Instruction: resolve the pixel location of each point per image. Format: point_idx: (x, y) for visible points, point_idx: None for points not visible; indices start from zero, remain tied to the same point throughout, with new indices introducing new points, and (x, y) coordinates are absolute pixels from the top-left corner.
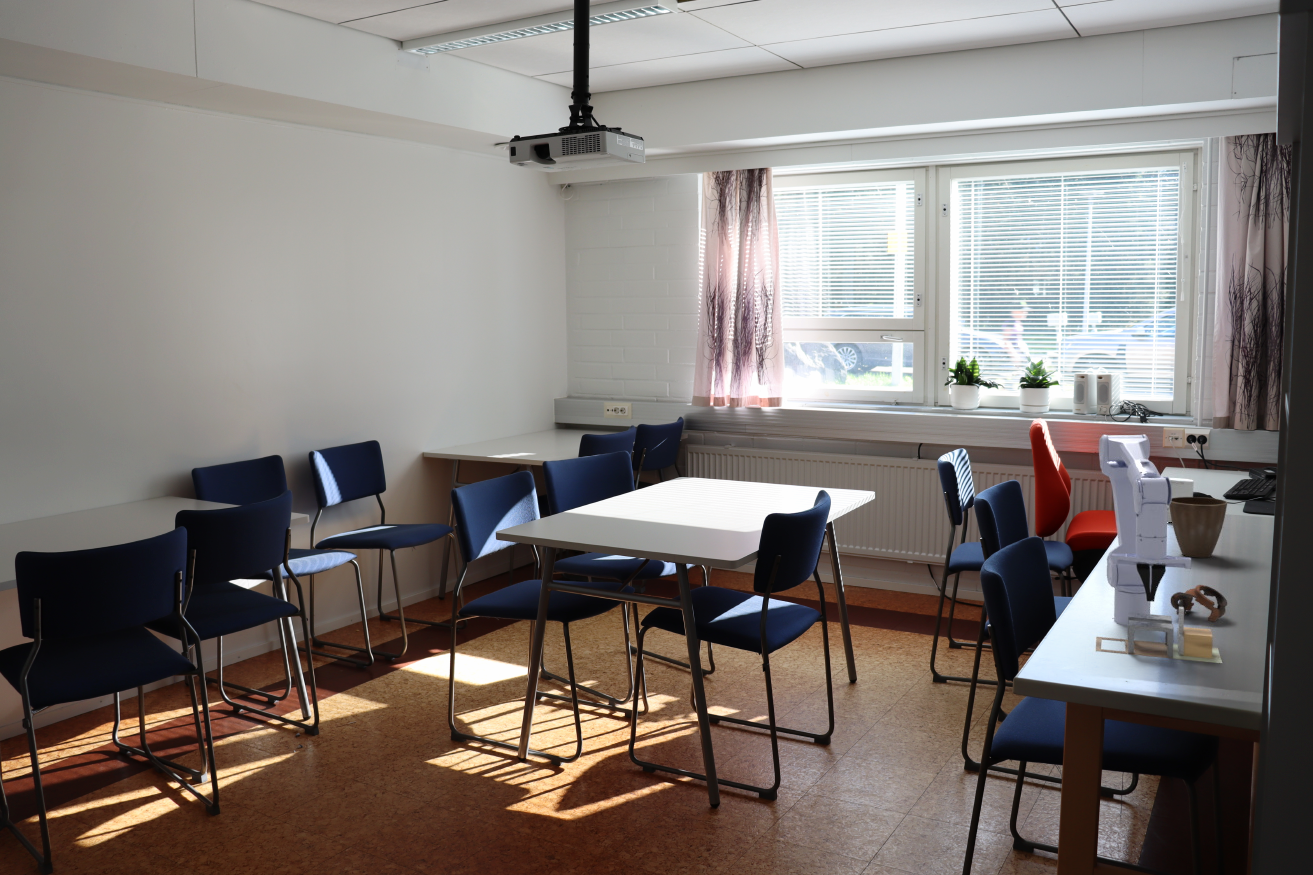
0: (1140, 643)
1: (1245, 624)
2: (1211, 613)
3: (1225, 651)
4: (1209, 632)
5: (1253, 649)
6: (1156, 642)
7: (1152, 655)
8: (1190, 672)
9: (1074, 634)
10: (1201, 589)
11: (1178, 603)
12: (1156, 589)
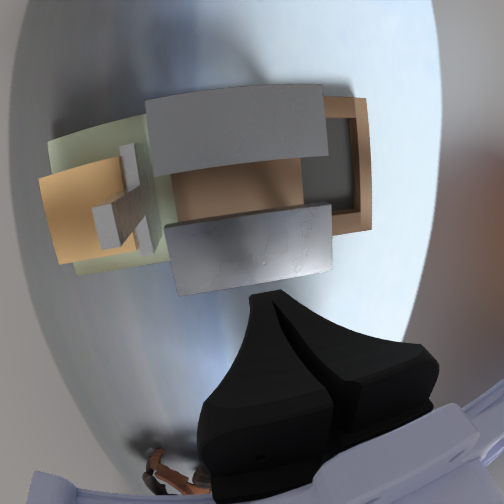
0: None
1: (114, 448)
2: (159, 459)
3: (78, 302)
4: (53, 224)
5: (46, 337)
6: None
7: None
8: (121, 80)
9: (399, 272)
10: None
11: None
12: (249, 325)
